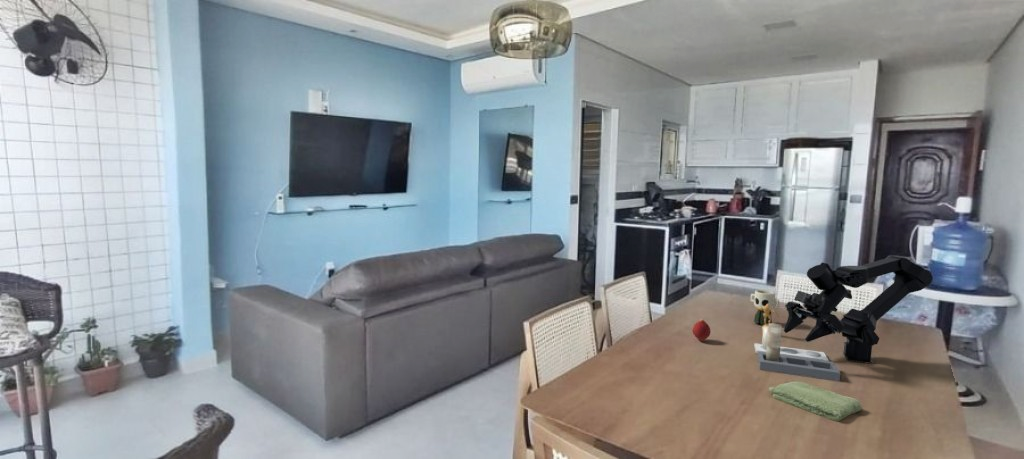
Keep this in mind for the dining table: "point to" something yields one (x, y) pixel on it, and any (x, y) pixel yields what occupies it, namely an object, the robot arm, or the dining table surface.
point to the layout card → (789, 349)
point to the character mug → (763, 304)
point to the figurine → (766, 314)
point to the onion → (701, 330)
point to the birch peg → (774, 342)
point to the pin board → (800, 366)
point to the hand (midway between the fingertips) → (795, 336)
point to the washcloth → (816, 400)
